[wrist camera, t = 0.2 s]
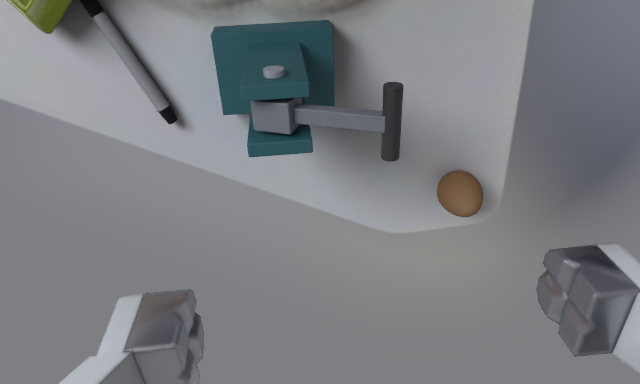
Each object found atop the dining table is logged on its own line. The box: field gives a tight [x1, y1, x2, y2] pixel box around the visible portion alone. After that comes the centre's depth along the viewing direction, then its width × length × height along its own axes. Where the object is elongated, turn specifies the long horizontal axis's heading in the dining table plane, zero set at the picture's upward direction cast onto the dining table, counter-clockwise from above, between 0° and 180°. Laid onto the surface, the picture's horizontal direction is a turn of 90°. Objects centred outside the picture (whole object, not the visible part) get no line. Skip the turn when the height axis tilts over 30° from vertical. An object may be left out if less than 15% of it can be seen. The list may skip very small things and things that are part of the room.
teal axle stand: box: [211, 20, 335, 157], centre depth 36 cm, size 10×7×14 cm
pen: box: [80, 0, 177, 124], centre depth 39 cm, size 1×16×1 cm, turn 26°
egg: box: [437, 171, 483, 217], centre depth 48 cm, size 4×4×6 cm
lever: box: [250, 82, 403, 161], centre depth 31 cm, size 10×5×2 cm, turn 91°
